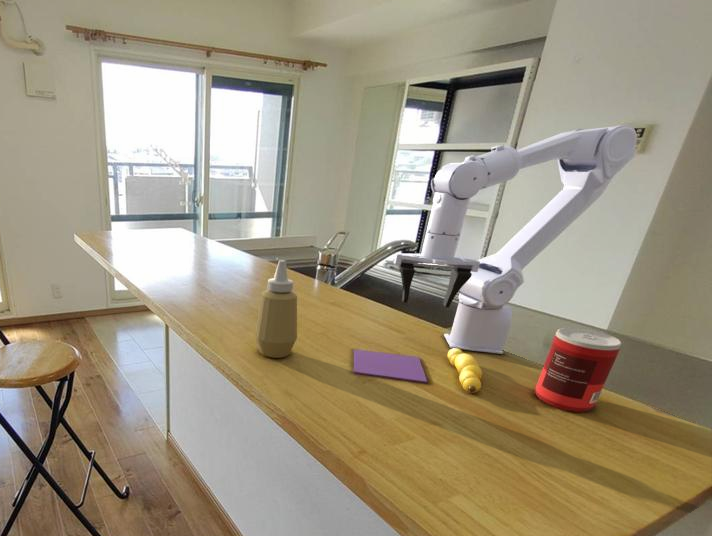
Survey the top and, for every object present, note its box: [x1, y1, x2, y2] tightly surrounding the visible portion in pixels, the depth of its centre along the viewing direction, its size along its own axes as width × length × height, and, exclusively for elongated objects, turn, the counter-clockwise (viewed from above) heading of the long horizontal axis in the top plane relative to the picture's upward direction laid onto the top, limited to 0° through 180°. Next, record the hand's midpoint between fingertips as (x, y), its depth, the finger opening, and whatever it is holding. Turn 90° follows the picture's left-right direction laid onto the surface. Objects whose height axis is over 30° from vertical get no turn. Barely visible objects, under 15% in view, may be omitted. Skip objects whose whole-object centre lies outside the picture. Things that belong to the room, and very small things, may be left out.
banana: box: [447, 348, 483, 394], centre depth 75 cm, size 4×17×3 cm, turn 163°
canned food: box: [535, 327, 622, 413], centre depth 66 cm, size 8×8×11 cm
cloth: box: [353, 348, 428, 384], centre depth 79 cm, size 12×11×1 cm
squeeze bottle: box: [254, 259, 298, 359], centre depth 80 cm, size 8×8×18 cm
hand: (425, 303), depth 85 cm, fingers open, 7 cm apart
